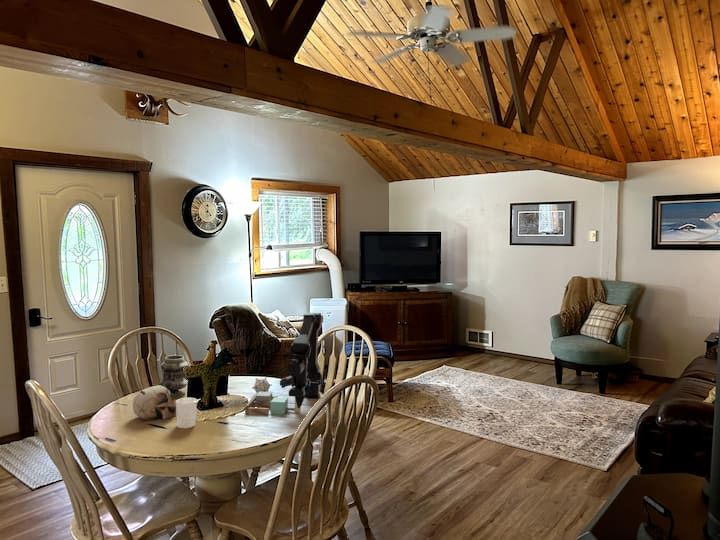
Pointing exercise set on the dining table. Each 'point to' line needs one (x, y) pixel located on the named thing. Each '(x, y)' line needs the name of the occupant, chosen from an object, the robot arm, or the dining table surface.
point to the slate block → (264, 396)
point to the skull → (154, 403)
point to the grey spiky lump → (261, 385)
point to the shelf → (261, 406)
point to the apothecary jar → (174, 374)
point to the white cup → (186, 412)
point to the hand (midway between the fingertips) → (299, 406)
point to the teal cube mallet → (282, 406)
